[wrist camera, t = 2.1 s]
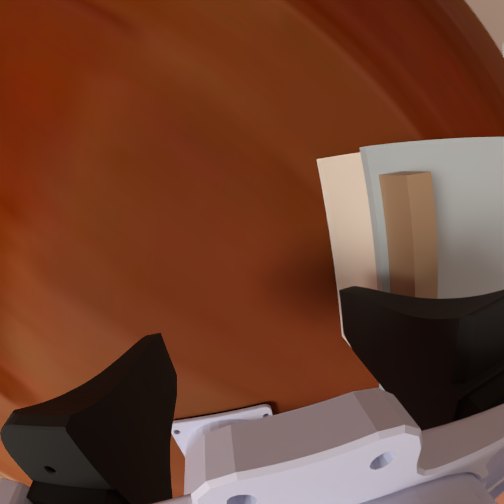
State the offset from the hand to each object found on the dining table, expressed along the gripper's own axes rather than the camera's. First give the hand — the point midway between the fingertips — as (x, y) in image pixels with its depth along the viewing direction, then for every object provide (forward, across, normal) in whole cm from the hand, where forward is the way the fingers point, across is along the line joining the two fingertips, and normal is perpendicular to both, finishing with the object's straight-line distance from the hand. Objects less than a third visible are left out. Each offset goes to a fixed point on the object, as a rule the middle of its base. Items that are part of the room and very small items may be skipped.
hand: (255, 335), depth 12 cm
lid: (+1, -12, 0) cm, 12 cm away
